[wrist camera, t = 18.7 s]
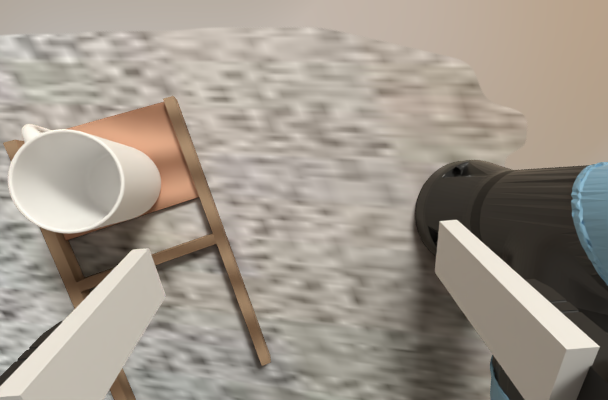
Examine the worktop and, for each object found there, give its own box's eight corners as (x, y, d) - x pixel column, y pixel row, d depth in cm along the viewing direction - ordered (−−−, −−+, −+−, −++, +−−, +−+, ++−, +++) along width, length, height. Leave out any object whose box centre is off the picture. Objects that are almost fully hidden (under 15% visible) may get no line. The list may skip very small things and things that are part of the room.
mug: (99, 109, 34) (28, 74, 23) (179, 183, 35) (146, 181, 25) (42, 161, 33) (-58, 150, 22) (126, 233, 35) (70, 255, 24)
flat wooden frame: (270, 355, 39) (270, 362, 37) (130, 414, 36) (124, 424, 35) (176, 99, 36) (173, 95, 34) (15, 145, 33) (3, 142, 31)
